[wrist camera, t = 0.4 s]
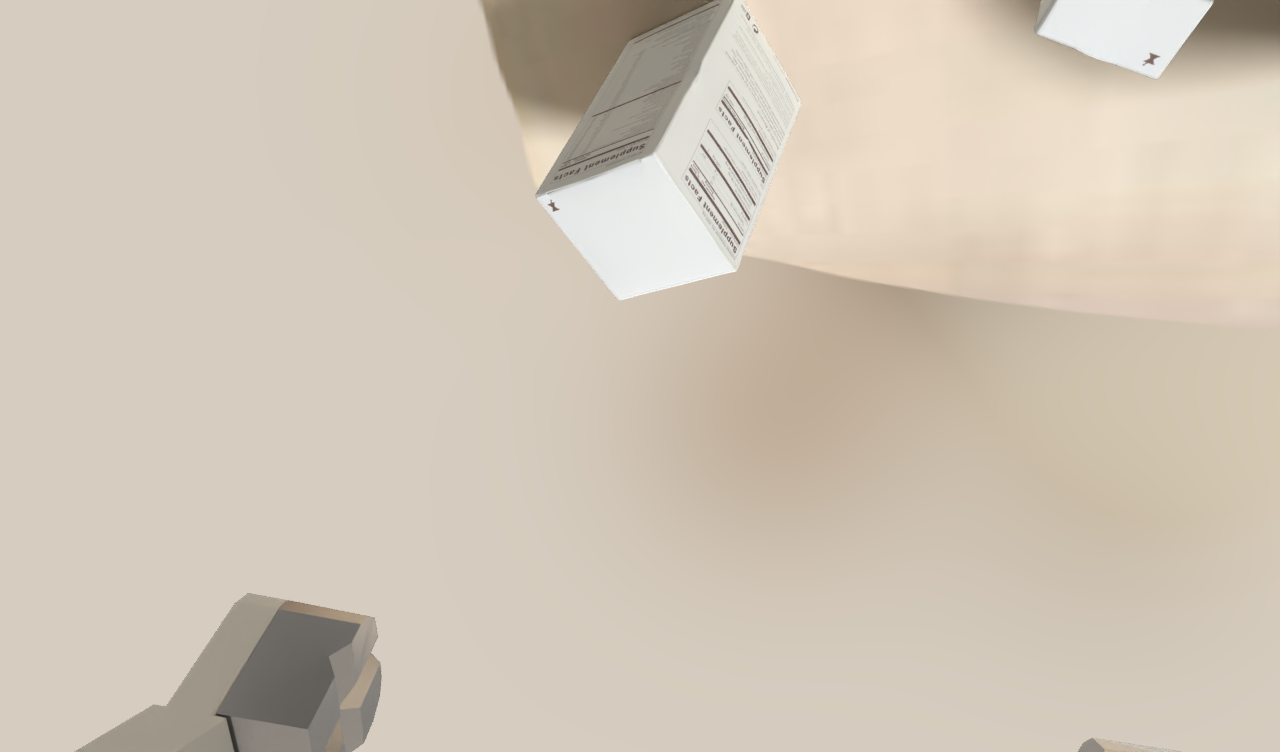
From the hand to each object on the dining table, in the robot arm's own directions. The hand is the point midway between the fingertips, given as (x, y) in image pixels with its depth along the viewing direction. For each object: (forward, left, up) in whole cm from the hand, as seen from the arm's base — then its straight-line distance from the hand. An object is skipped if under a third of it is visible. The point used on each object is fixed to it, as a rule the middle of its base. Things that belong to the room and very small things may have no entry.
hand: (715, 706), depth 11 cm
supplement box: (+29, +12, -51) cm, 60 cm away
